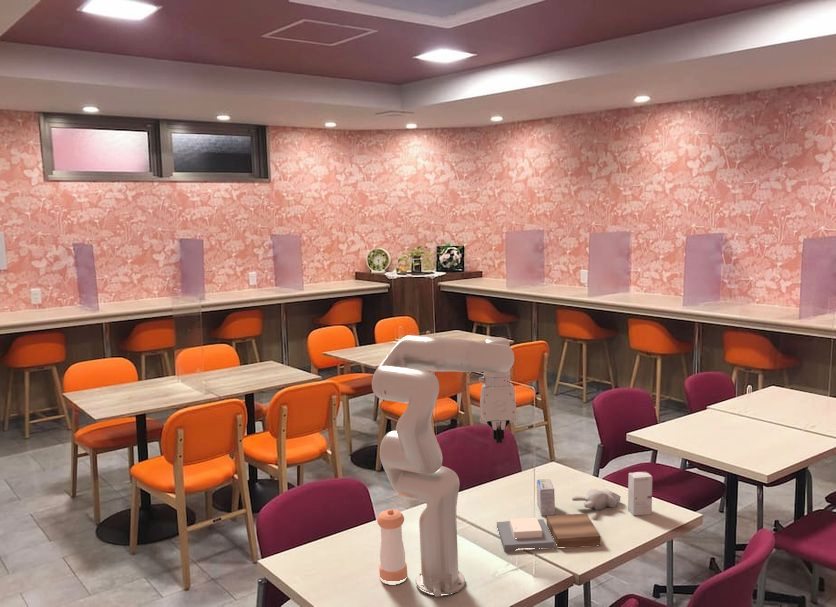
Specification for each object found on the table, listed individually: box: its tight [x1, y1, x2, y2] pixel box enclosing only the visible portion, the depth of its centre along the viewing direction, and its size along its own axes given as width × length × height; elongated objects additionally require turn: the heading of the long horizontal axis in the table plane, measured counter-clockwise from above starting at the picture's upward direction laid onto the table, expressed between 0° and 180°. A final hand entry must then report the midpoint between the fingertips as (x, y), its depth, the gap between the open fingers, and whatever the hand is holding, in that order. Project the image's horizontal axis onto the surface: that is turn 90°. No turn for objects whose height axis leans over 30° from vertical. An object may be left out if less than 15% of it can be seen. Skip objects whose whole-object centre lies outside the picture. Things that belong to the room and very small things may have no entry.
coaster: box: [508, 517, 542, 539], centre depth 206 cm, size 8×8×2 cm
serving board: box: [546, 513, 601, 548], centre depth 206 cm, size 14×12×3 cm
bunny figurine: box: [571, 488, 621, 511], centre depth 224 cm, size 10×5×15 cm
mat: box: [496, 519, 555, 553], centre depth 206 cm, size 14×14×2 cm
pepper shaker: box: [376, 508, 408, 581], centre depth 186 cm, size 7×7×19 cm
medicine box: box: [536, 478, 556, 517], centre depth 222 cm, size 8×4×9 cm, turn 179°
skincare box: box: [627, 471, 653, 516], centre depth 218 cm, size 6×4×12 cm
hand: (498, 441), depth 208 cm, fingers closed
